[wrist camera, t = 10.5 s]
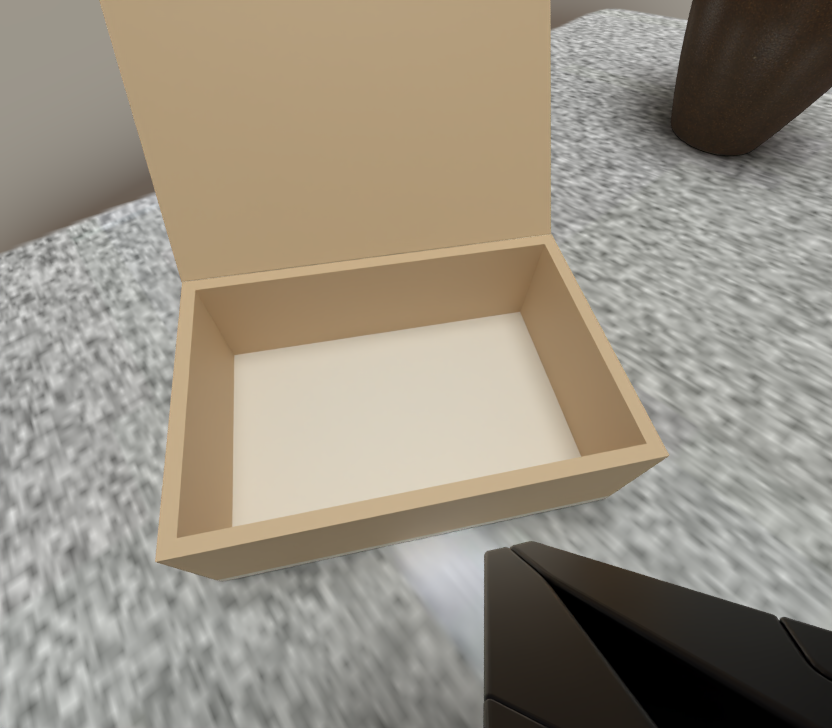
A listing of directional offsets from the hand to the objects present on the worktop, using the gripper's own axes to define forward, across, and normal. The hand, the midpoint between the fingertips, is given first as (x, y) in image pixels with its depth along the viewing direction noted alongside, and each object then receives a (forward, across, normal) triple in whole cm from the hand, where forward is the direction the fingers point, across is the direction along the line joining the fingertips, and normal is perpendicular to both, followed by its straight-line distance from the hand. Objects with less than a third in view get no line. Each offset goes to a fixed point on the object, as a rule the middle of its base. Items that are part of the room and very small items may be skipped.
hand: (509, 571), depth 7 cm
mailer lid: (+15, 0, +12) cm, 19 cm away
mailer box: (+16, 0, -3) cm, 16 cm away
